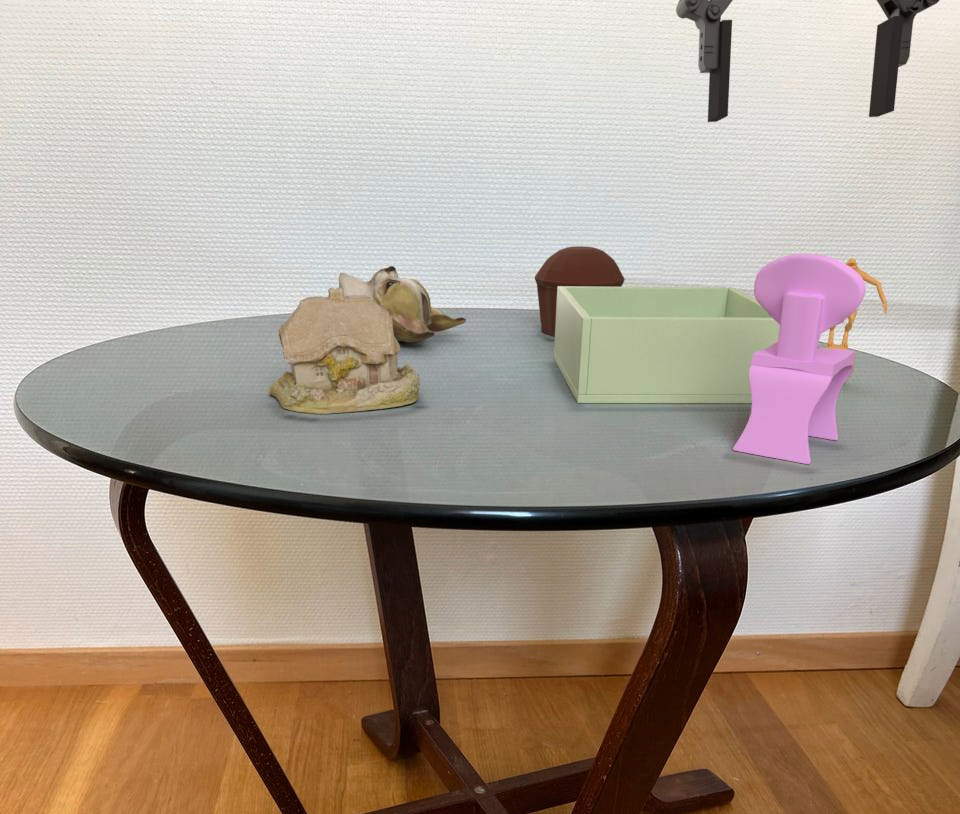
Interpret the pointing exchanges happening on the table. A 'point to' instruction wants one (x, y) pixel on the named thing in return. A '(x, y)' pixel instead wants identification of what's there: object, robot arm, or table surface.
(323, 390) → the ceramic model
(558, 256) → the muffin
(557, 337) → the bin
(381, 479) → the table surface
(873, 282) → the figurine
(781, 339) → the toy chair
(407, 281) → the ceramic sculpture
